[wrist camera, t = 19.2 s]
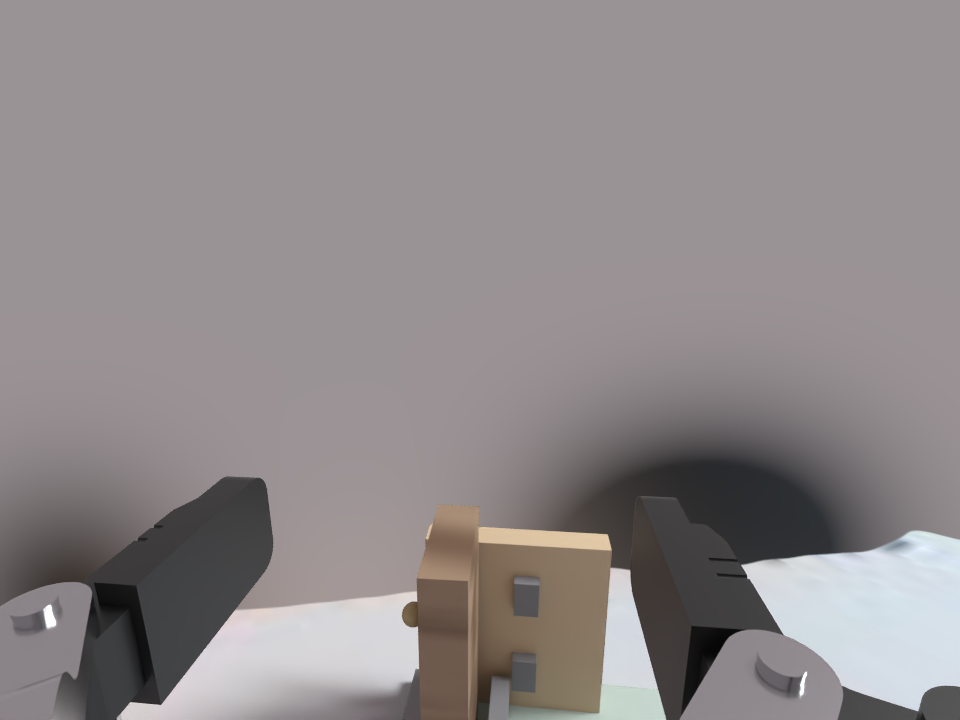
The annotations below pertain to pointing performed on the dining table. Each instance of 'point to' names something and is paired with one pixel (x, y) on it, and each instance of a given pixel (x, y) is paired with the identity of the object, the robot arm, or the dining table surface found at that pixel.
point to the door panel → (448, 616)
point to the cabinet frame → (545, 631)
